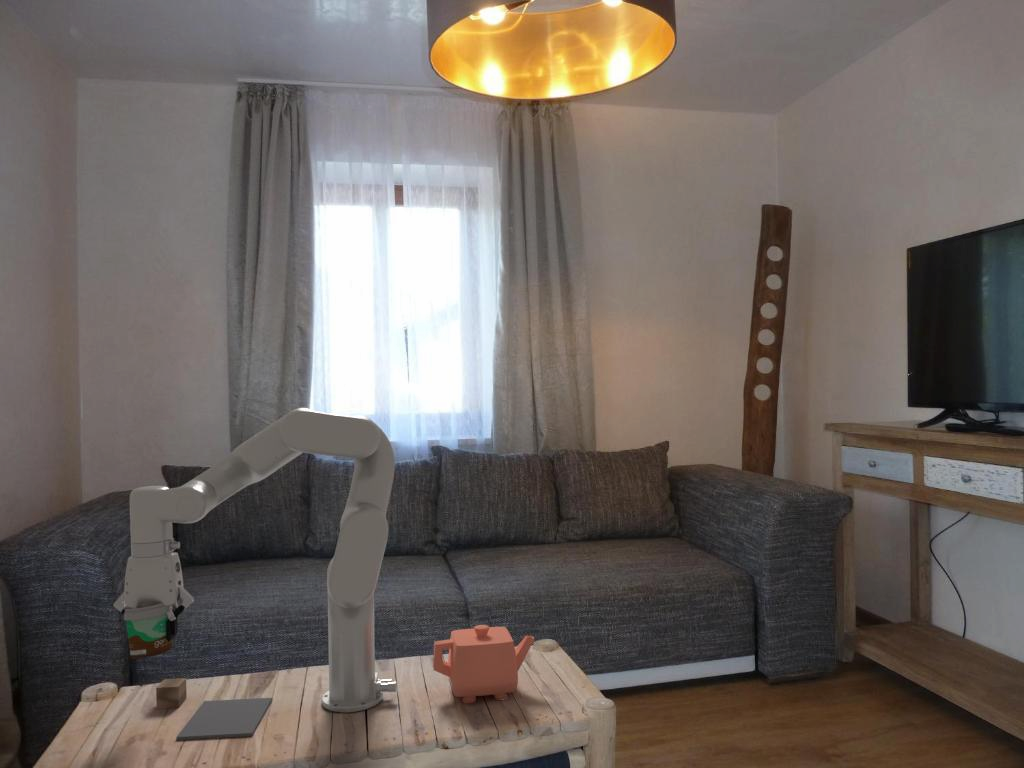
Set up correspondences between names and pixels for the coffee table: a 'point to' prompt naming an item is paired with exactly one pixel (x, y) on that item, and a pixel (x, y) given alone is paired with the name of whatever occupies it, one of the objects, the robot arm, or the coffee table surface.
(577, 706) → the coffee table surface
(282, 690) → the coffee table surface
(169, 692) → the walnut block
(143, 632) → the food container
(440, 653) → the teapot
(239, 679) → the coffee table surface
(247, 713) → the mat
